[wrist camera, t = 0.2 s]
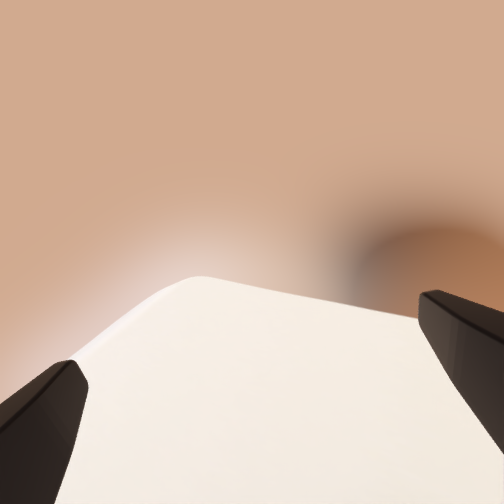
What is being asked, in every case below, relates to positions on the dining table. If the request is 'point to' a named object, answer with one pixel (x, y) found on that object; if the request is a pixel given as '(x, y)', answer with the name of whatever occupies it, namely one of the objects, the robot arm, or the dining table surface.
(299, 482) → the dining table surface
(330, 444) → the dining table surface
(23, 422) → the robot arm
